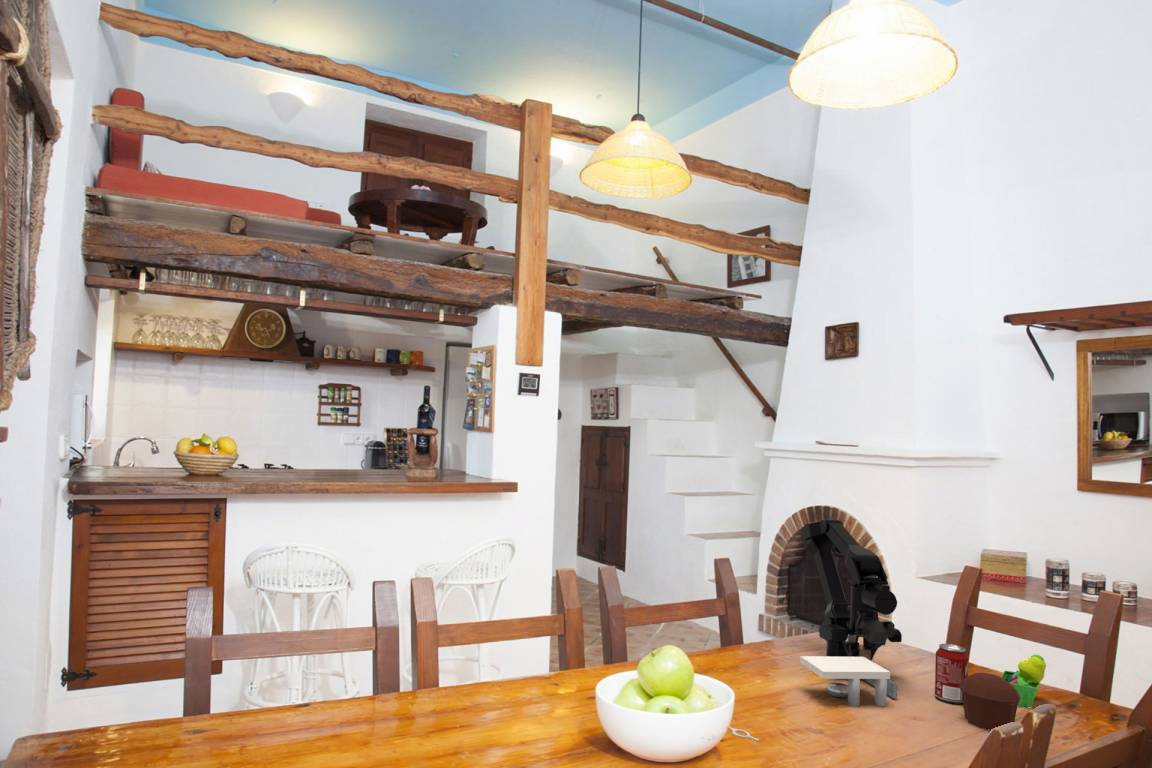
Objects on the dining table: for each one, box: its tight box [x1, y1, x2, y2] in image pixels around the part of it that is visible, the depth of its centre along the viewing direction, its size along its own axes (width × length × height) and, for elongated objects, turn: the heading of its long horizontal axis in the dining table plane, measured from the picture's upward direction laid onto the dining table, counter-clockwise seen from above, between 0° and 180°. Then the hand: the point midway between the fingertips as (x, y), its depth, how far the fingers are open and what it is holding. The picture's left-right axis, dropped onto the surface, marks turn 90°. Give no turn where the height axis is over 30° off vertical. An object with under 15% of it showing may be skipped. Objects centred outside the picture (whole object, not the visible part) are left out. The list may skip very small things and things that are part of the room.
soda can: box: [934, 643, 969, 705], centre depth 177 cm, size 7×7×12 cm
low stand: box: [799, 655, 891, 708], centre depth 174 cm, size 11×16×8 cm
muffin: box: [959, 672, 1021, 731], centre depth 163 cm, size 12×11×10 cm
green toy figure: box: [1000, 653, 1047, 708], centre depth 179 cm, size 11×9×11 cm
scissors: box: [728, 726, 760, 742], centre depth 154 cm, size 11×1×20 cm
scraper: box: [857, 644, 898, 699], centre depth 183 cm, size 17×3×7 cm, turn 10°
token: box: [826, 681, 848, 698], centre depth 176 cm, size 5×5×2 cm
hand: (860, 668), depth 189 cm, fingers closed on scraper, 3 cm apart
